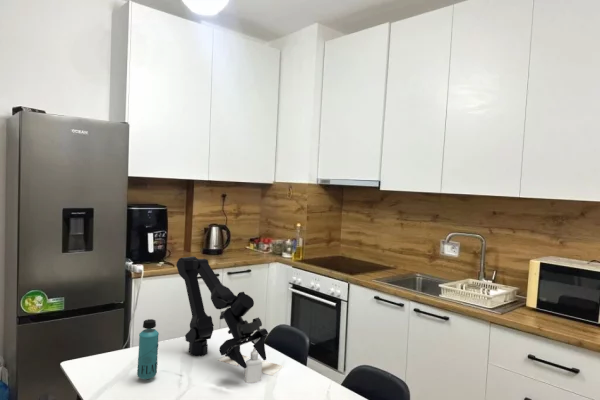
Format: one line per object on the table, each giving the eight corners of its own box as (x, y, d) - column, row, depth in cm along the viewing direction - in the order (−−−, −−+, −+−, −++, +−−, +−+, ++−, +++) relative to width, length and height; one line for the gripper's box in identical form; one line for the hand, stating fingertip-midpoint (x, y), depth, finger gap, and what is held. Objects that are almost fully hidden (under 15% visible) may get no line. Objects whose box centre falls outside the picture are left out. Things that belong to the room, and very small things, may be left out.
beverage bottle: (137, 385, 132) (140, 324, 132) (135, 376, 138) (138, 318, 137) (158, 381, 135) (161, 322, 135) (155, 373, 141) (158, 316, 140)
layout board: (212, 365, 150) (212, 362, 150) (230, 354, 161) (230, 351, 161) (268, 381, 140) (268, 378, 140) (284, 368, 151) (284, 365, 151)
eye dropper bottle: (259, 387, 135) (261, 351, 135) (243, 385, 136) (245, 350, 135) (261, 381, 140) (263, 346, 139) (245, 379, 140) (247, 345, 140)
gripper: (226, 316, 133) (247, 360, 126) (266, 306, 147) (287, 344, 140) (210, 334, 138) (230, 376, 131) (250, 322, 152) (269, 360, 146)
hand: (255, 363), depth 137 cm, fingers open, 9 cm apart
